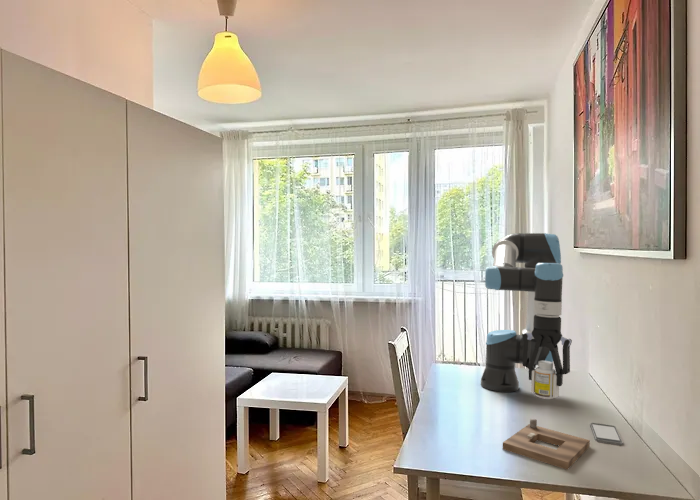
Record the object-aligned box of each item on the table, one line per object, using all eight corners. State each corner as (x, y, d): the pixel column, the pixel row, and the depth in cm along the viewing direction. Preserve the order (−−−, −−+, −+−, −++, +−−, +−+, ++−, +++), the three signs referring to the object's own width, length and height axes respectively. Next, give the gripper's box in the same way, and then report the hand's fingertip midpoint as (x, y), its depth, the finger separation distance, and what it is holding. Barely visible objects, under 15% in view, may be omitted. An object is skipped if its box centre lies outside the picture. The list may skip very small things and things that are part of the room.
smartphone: (595, 439, 148) (590, 422, 162) (595, 442, 148) (589, 425, 162) (623, 443, 145) (614, 425, 160) (623, 447, 146) (614, 429, 160)
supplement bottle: (548, 393, 146) (549, 359, 146) (558, 399, 141) (559, 364, 141) (530, 393, 145) (531, 359, 145) (540, 399, 140) (542, 364, 140)
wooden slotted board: (529, 430, 156) (529, 416, 156) (589, 446, 144) (590, 432, 144) (502, 449, 141) (503, 434, 141) (567, 469, 129) (568, 453, 129)
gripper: (511, 312, 146) (509, 389, 147) (576, 320, 134) (573, 404, 134) (521, 310, 152) (519, 384, 152) (585, 318, 140) (582, 398, 140)
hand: (544, 393), depth 143 cm, fingers closed on supplement bottle, 6 cm apart
